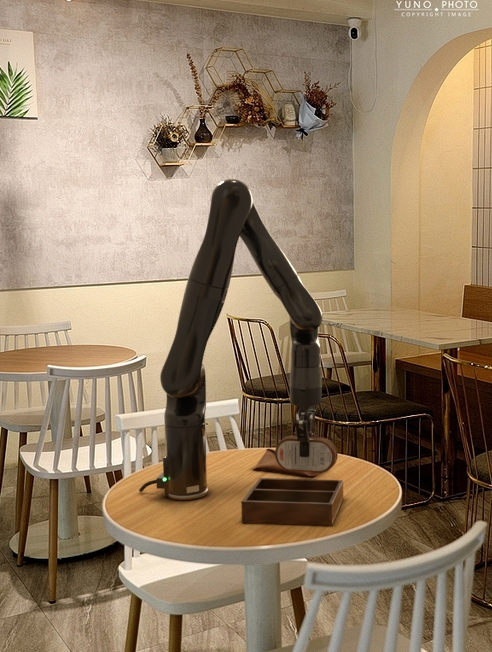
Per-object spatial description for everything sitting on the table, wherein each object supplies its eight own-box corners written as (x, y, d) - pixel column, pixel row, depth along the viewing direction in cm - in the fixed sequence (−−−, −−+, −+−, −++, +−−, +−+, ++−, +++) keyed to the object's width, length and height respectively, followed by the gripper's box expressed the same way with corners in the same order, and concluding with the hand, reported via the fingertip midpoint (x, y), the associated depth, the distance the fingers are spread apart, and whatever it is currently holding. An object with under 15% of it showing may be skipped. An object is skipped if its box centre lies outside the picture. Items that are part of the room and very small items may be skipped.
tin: (337, 471, 210) (338, 437, 210) (334, 475, 207) (335, 439, 206) (277, 468, 212) (277, 433, 212) (273, 471, 209) (273, 436, 209)
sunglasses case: (250, 468, 224) (256, 443, 227) (262, 475, 230) (268, 451, 233) (312, 476, 217) (318, 450, 220) (323, 483, 224) (329, 458, 226)
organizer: (241, 523, 188) (241, 501, 187) (260, 497, 204) (259, 477, 203) (332, 525, 186) (331, 504, 185) (343, 500, 202) (343, 480, 201)
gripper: (296, 377, 214) (296, 446, 217) (284, 389, 200) (284, 462, 203) (326, 378, 214) (326, 447, 216) (316, 390, 200) (316, 463, 202)
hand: (305, 454), depth 209 cm, fingers closed on tin, 3 cm apart
